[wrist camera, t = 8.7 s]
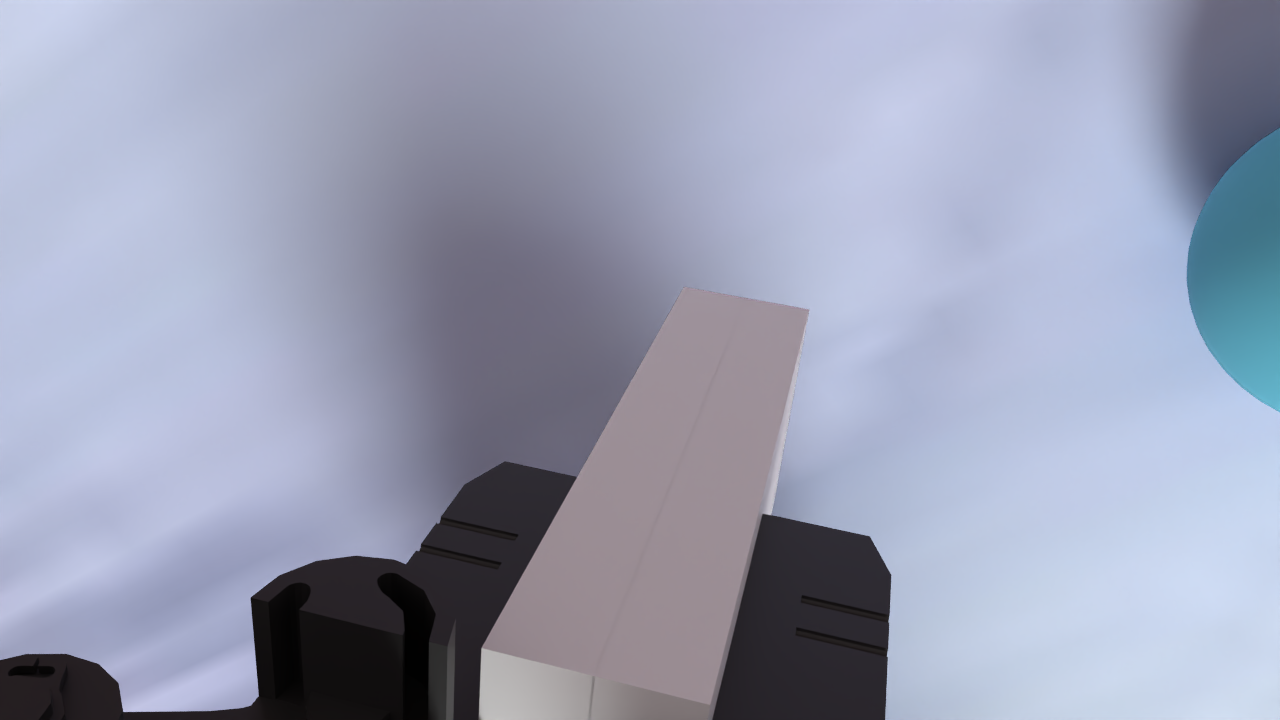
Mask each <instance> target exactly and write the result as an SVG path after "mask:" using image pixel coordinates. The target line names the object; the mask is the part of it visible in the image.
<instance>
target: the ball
mask: <svg viewBox="0 0 1280 720" xmlns="http://www.w3.org/2000/svg"><path fill="white" fill-rule="evenodd" d="M1187 287H1188V294H1189V301H1190V305H1191V310H1192V313H1193V316H1194V319H1195V322H1196V325H1197V327H1198V330H1199V332H1200V334H1201V336H1202V338H1203V340H1204V341H1205V343H1206V345H1207V347H1208V349H1209V351H1210V352H1211V353H1212V355H1213V356H1214V357H1215V359H1216V360H1217V361H1218V363H1219V364H1220V365H1221V367H1222V368H1223V369H1224V370H1225V371H1226V373H1227V374H1228V375H1230V376H1231V377H1232V378H1233V379H1234V380H1235V381H1236V382H1237V383H1238V384H1239V385H1240V386H1241V387H1242V388H1243V389H1245V390H1246V391H1247V392H1249V393H1250V394H1251V395H1253V396H1254V397H1255V398H1257V399H1258V400H1259V401H1261V402H1263V403H1264V404H1266V405H1268V406H1270V407H1271V408H1273V409H1275V410H1277V411H1279V412H1280V128H1278V129H1277V130H1275V131H1274V132H1272V133H1271V134H1269V135H1267V136H1266V137H1264V138H1263V139H1261V140H1260V141H1259V142H1257V143H1256V144H1255V145H1254V146H1252V147H1251V148H1250V149H1249V150H1248V151H1247V152H1246V153H1245V154H1244V155H1242V156H1241V157H1240V158H1239V159H1238V160H1237V161H1236V162H1235V163H1234V164H1233V165H1232V166H1231V167H1230V168H1229V169H1228V170H1227V172H1226V173H1225V174H1224V175H1223V177H1222V178H1221V179H1220V180H1219V182H1218V183H1217V185H1216V186H1215V188H1214V189H1213V191H1212V192H1211V194H1210V196H1209V197H1208V199H1207V201H1206V203H1205V205H1204V207H1203V209H1202V211H1201V213H1200V215H1199V217H1198V220H1197V222H1196V225H1195V228H1194V231H1193V234H1192V237H1191V242H1190V246H1189V252H1188V263H1187Z"/></svg>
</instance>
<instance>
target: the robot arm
mask: <svg viewBox="0 0 1280 720" xmlns="http://www.w3.org/2000/svg"><path fill="white" fill-rule="evenodd" d="M808 315H809V309H803V308H798V307H792V306H787V305H781V304H776V303H770V302H765V301H759V300H754V299H748V298H743V297H737V296H732V295H726V294H721V293H715V292H710V291H704V290H699V289H693V288H688V287H683V289H682V291H681V293H680V295H679V296H678V298H677V300H676V302H675V303H674V305H673V307H672V309H671V311H670V312H669V314H668V316H667V318H666V320H665V321H664V323H663V325H662V327H661V328H660V330H659V332H658V334H657V336H656V337H655V339H654V341H653V343H652V345H651V346H650V348H649V350H648V352H647V353H646V355H645V357H644V359H643V361H642V362H641V364H640V366H639V368H638V370H637V371H636V373H635V375H634V377H633V378H632V380H631V382H630V384H629V386H628V387H627V389H626V391H625V393H624V395H623V396H622V398H621V400H620V402H619V403H618V405H617V407H616V409H615V411H614V412H613V414H612V416H611V418H610V419H609V421H608V423H607V425H606V427H605V428H604V430H603V432H602V434H601V436H600V437H599V439H598V441H597V443H596V444H595V446H594V448H593V450H592V452H591V453H590V455H589V457H588V459H587V461H586V462H585V464H584V466H583V468H582V469H581V471H580V473H579V475H578V477H574V476H570V475H565V474H560V473H556V472H551V471H546V470H542V469H537V468H533V467H528V466H523V465H519V464H514V463H510V462H503V463H502V464H500V465H498V466H496V467H495V468H493V469H491V470H489V471H488V472H486V473H484V474H482V475H481V476H479V477H477V478H475V479H474V480H472V481H470V482H469V483H467V484H465V485H464V486H463V488H462V489H461V490H460V492H459V493H458V495H457V496H456V497H455V499H454V500H453V501H452V503H451V504H450V505H449V507H448V508H447V510H446V511H445V512H444V514H443V515H442V516H441V521H440V523H439V524H437V523H436V525H435V526H434V527H433V529H432V530H431V531H430V533H429V534H428V535H427V537H426V538H425V539H424V541H423V542H422V544H421V548H420V551H416V552H415V553H414V554H413V556H412V557H411V559H410V560H409V561H408V563H407V564H404V563H401V562H398V561H396V560H392V559H382V558H372V557H362V556H351V557H344V558H336V559H329V560H321V561H315V562H313V563H310V564H308V565H305V566H303V567H300V568H297V569H295V570H292V571H290V572H287V573H285V574H282V575H279V576H278V577H277V578H275V579H274V580H273V581H272V582H270V583H269V584H268V585H266V586H265V587H264V588H263V589H261V590H260V591H259V592H257V593H256V594H255V595H253V596H252V597H251V607H252V619H253V631H254V643H255V655H256V666H257V678H258V690H259V697H258V698H257V699H256V700H255V702H254V703H253V704H252V706H249V707H245V708H239V709H229V710H218V711H188V712H123V708H122V702H121V696H120V690H119V684H118V682H117V681H116V680H114V679H113V678H112V677H111V676H110V675H109V674H108V673H107V672H106V671H105V670H104V669H103V668H102V667H101V666H100V665H99V664H97V663H93V662H90V661H87V660H84V659H81V658H77V657H74V656H71V655H68V654H25V655H21V656H16V657H12V658H8V659H4V660H0V720H885V707H886V684H887V661H888V657H887V651H888V637H889V623H888V620H889V614H890V590H891V574H890V572H889V570H888V569H887V567H886V565H885V563H884V561H883V560H882V558H881V556H880V554H879V552H878V551H877V549H876V547H875V545H874V543H873V542H872V540H871V538H870V537H869V536H865V535H860V534H856V533H851V532H846V531H842V530H837V529H832V528H828V527H823V526H818V525H814V524H809V523H805V522H800V521H795V520H791V519H786V518H781V517H777V516H772V515H771V514H772V510H773V505H774V500H775V494H776V489H777V484H778V478H779V473H780V467H781V462H782V456H783V451H784V445H785V440H786V435H787V429H788V424H789V418H790V413H791V407H792V402H793V396H794V391H795V385H796V380H797V375H798V369H799V364H800V358H801V353H802V347H803V342H804V336H805V331H806V325H807V320H808Z"/></svg>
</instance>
